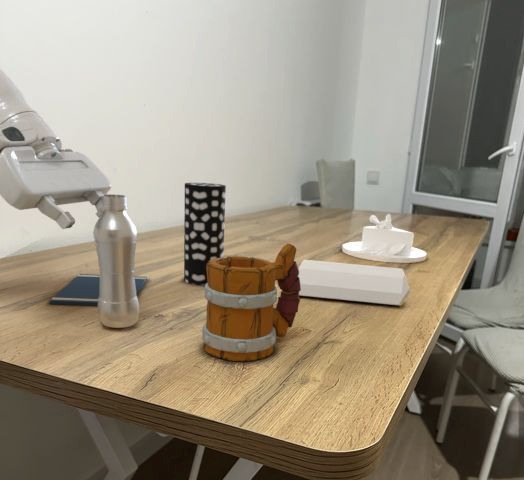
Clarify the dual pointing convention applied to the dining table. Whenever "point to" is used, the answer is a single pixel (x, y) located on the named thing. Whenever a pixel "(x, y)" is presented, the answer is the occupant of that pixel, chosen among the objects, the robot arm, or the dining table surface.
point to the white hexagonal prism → (353, 282)
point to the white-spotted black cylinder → (202, 229)
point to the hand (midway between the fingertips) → (90, 222)
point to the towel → (86, 290)
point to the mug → (249, 304)
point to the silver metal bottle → (116, 263)
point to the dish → (385, 244)
